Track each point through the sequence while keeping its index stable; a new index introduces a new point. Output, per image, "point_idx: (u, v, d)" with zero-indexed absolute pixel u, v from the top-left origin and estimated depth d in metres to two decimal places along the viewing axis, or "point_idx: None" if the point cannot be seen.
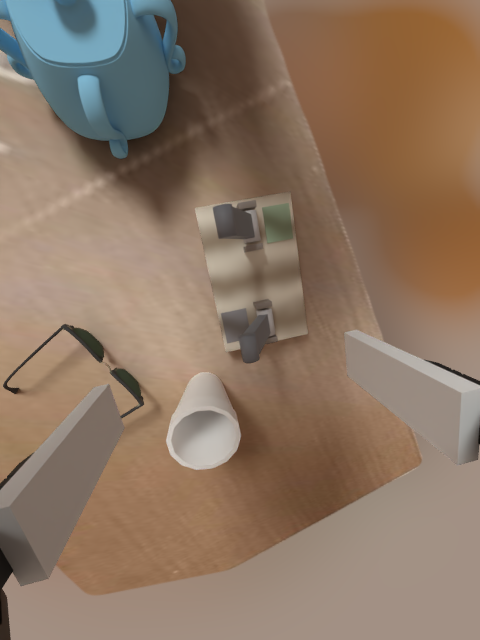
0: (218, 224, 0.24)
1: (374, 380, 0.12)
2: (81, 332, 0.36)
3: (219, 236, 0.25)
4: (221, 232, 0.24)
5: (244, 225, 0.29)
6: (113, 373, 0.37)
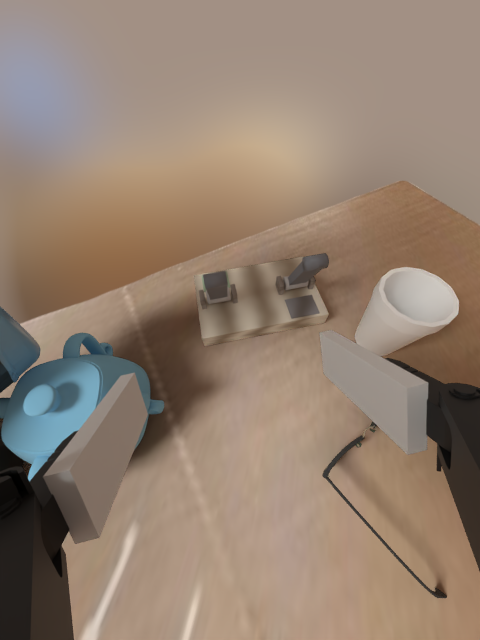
0: (217, 281, 0.32)
1: (344, 377, 0.12)
2: None
3: (225, 281, 0.32)
4: (223, 278, 0.32)
5: None
6: None
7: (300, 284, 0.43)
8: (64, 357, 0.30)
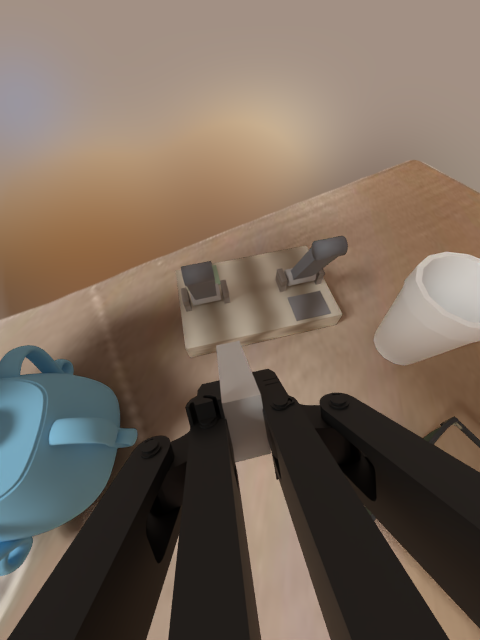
0: (200, 275, 0.24)
1: None
2: None
3: (212, 275, 0.24)
4: (208, 271, 0.24)
5: None
6: None
7: (306, 278, 0.35)
8: None
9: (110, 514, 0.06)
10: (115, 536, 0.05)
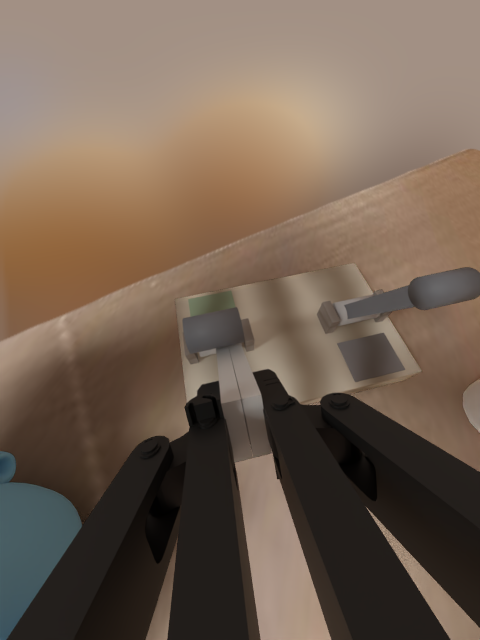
0: (218, 336, 0.13)
1: None
2: None
3: (240, 335, 0.13)
4: (233, 329, 0.13)
5: None
6: None
7: (366, 316, 0.24)
8: None
9: (109, 514, 0.06)
10: (114, 536, 0.05)
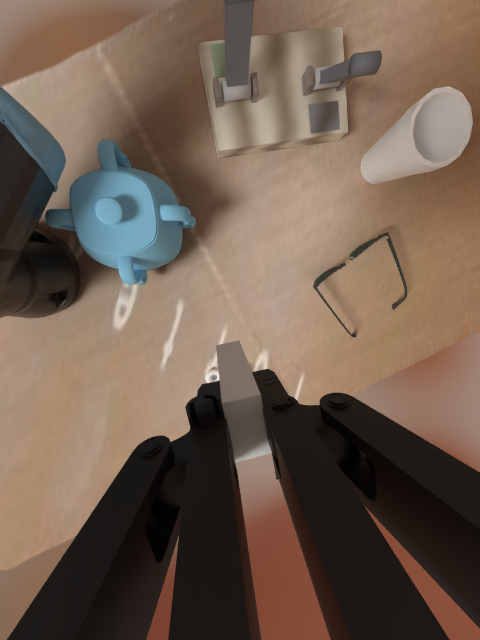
0: None
1: None
2: (318, 279, 0.46)
3: None
4: None
5: None
6: (356, 254, 0.44)
7: (331, 84, 0.37)
8: (104, 169, 0.31)
9: (110, 514, 0.06)
10: (115, 536, 0.05)
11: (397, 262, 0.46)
